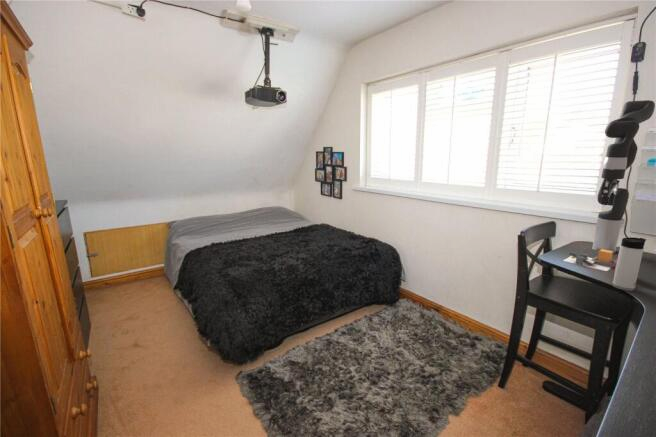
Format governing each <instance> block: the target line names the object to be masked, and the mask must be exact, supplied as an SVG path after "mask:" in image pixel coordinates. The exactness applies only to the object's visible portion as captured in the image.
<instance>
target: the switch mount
mask: <svg viewBox="0 0 656 437" xmlns="http://www.w3.org/2000/svg"><path fill="white" fill-rule="evenodd" d="M580 255H582V256H584V257H586V258H587V257H589V256H588V254H584V253H580ZM584 257H579V256H577V258H576V264H575V265H579V264H580V265H579V266H583V259H584Z"/></svg>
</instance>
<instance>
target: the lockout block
mask: <svg viewBox="0 0 656 437" xmlns="http://www.w3.org/2000/svg"><path fill="white" fill-rule="evenodd" d="M613 254H614V253H613V251H609V250H604V249H601V250H600V251H599V250H598V255H597V257H598V259H597V261H601V262H606V263H610V264H611V260H613Z"/></svg>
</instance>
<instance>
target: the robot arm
mask: <svg viewBox="0 0 656 437" xmlns="http://www.w3.org/2000/svg"><path fill="white" fill-rule="evenodd" d="M655 105H656V104H655V101H653V100H650V99H649V100H647V99H646V100H631V101H627V102H624V104H623V106H622V110H621V113H620V118H617V119H614V120H612V121H610V122H609V123H608V124H607V125H606V126H605V128H604V134H605V136H606V137H607V138H610V139H615V140H614V142H613V143H612V144H611V143H610V144H609V145H608V146H607V149H606V154H605V159H604V162H603V165H602V172H601V178H602V179H603V180H602V182H601V186H600V187H599V190H598V194H597V202H598V204H600V205H602V206H610V207H611V206H612V207H611V209H610V210H609V209H608V210H606V211H600V212H599V213H598V216H597V221H596V226H595V231H594V232H595V233H594V237H593V243H592V247H591V248H592V250H595V251H598V252H599V251H600V250H601V249H604V250H609V251H613V254H615V253H616V251H617V250H616V249H617V246H618V242H619V238H620V236H619V235H620V231H621V226H622V221H623V218H624V215H625V213H626V209H627V205H628V202H629V197H630V193H629V190H628V189H627V188H622V187H619V185H620V180H623V179H625V174H626V171H627V170H628V168H630V167H631V166H632V165H633V164H634V162H635V160H636V156H637V153H638V146H637V145H638V144H637V143H636V141H635V139H634V138H635V137H636V135H637V134H638V132H639V129H640V124H642V123H644V122H646V121H648V120H650V119H651V118H652V116H653V114H654V113H655V108H656V106H655Z"/></svg>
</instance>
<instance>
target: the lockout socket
mask: <svg viewBox="0 0 656 437" xmlns="http://www.w3.org/2000/svg"><path fill="white" fill-rule="evenodd" d="M592 258H593V259H591V260H592V261H594V262H595V263H594V264H597V265H602V266H606V267H610V269H614V268H615V266H616V261H617V259H612V260H611V264H610V263H606V262H601V261H597V259H598V255H597V256H595V257H592Z"/></svg>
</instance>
